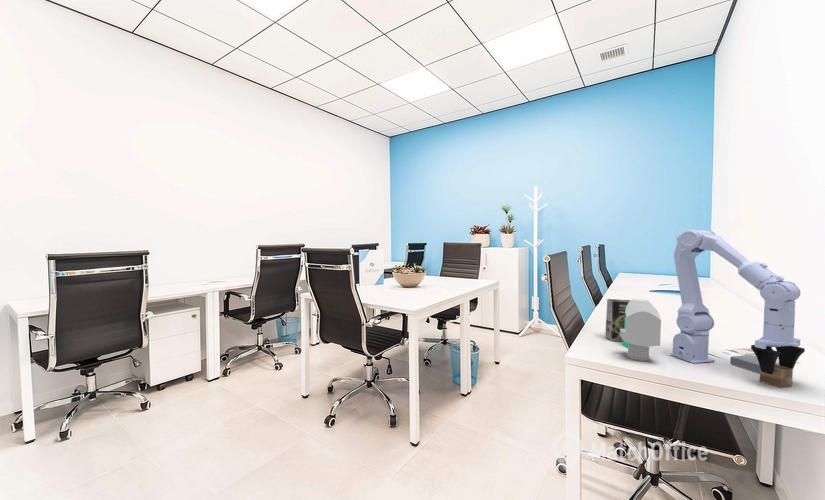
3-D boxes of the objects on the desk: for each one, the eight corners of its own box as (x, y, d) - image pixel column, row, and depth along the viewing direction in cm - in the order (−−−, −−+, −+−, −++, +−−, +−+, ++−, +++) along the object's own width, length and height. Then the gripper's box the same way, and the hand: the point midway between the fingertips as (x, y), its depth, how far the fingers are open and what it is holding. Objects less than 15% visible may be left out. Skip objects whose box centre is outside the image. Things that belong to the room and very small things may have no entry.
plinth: (766, 375, 96) (766, 367, 96) (730, 364, 105) (730, 356, 105) (787, 373, 98) (787, 365, 98) (750, 362, 107) (750, 354, 107)
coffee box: (611, 341, 127) (613, 301, 126) (604, 336, 133) (606, 298, 133) (637, 343, 125) (638, 302, 125) (628, 338, 132) (630, 299, 131)
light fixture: (650, 355, 112) (652, 298, 111) (659, 365, 103) (661, 303, 102) (619, 351, 115) (621, 296, 115) (625, 360, 107) (627, 301, 106)
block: (780, 388, 88) (781, 370, 88) (759, 381, 92) (760, 364, 92) (791, 386, 89) (792, 369, 89) (770, 379, 93) (771, 362, 93)
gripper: (779, 329, 84) (777, 380, 85) (816, 326, 88) (814, 375, 88) (746, 322, 91) (744, 369, 92) (782, 320, 95) (780, 365, 95)
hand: (776, 371), depth 90 cm, fingers open, 7 cm apart
